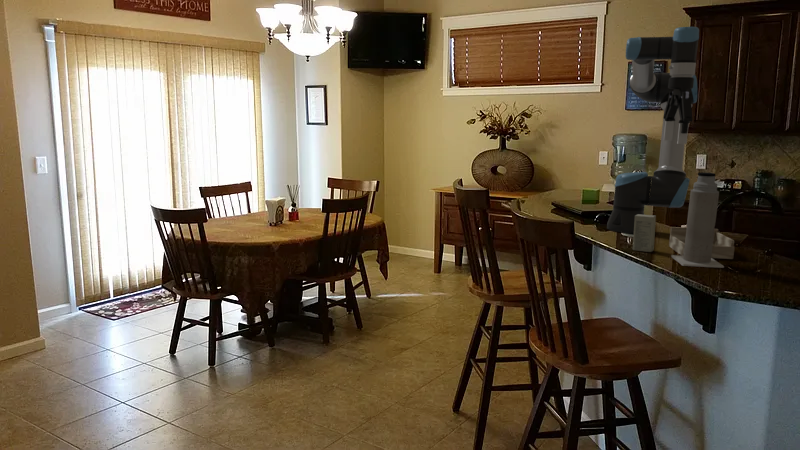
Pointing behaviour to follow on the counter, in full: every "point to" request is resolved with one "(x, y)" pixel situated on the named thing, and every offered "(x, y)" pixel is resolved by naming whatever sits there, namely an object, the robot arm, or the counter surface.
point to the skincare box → (644, 232)
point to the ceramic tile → (686, 263)
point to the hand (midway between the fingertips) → (674, 142)
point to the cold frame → (720, 249)
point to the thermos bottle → (701, 219)
